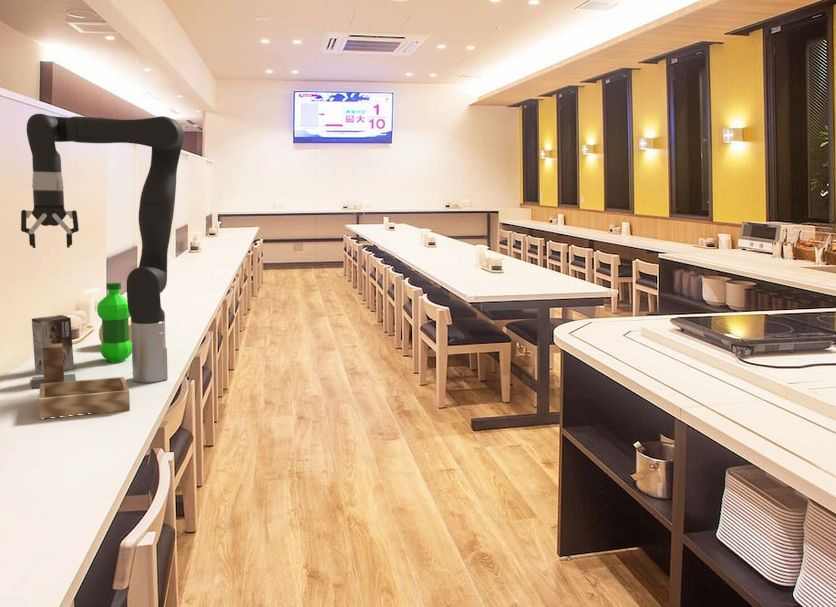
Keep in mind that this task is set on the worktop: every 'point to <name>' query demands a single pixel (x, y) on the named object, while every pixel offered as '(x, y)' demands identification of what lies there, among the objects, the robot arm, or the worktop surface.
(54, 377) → the walnut block
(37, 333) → the coffee box
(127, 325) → the plastic bottle
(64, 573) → the worktop surface
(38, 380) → the slate mat
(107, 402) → the caddy
